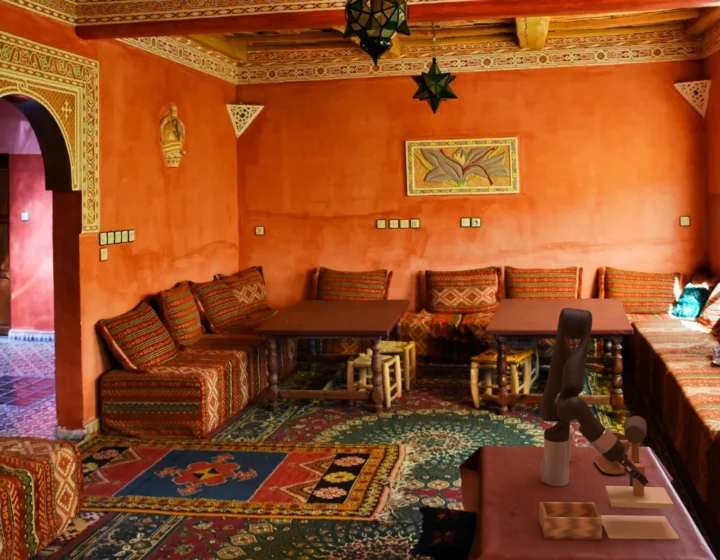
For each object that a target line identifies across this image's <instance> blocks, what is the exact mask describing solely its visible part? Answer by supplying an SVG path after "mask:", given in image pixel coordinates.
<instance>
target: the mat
mask: <svg viewBox="0 0 720 560" xmlns="http://www.w3.org/2000/svg"><path fill="white" fill-rule="evenodd" d="M600 516H601V518H602V528H603V529H604V531H605V533H606V536H607V538H608V539H618V540H619V539H623V540H624V539H625V540H627V539H628V540H680V537H679V535H678V534H677V533H676V531H675V529H674V528H673V527H672V525H671V524H670V522H669V520H668V519H667V517H666V516H665V515H616V514H615V515H614V514H613V515H610V514H608V515H605V514H604V515H603V514H600Z"/></svg>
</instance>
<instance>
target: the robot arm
mask: <svg viewBox="0 0 720 560" xmlns="http://www.w3.org/2000/svg"><path fill="white" fill-rule="evenodd" d="M592 328H593V314H592V312H591V311H590V310H587V309H579V308H572V307H564V308H562V309H561V310H560V313H559V316H558V321H557V329H556V336H555V342H554V347H553V352H552V356H551V359H550V365H549V369H548V376H547V381H546V384H545V387H544V391H543V394H542V396H541V400H540V404H539V416H540V418H541V420H542V421H544V422H546V423H550V422H554V423H556V424H555V425H554V426H552V425H551V426H550V427H548V428H546V429H545V430H544V432H543V456H541V483H544V484H546V485H548V486H552V487H565V486H568V485H569V483H570V482H569V481H570V480H569V479H570V477H569V476H570V474H569V473H570V471H569V469H570V465H569V464H570V463H569V434H570V425H571V422H572V421H575V420H577V422H578V423H579V426H578V431H579V433H580V434H581V435H582V436H583V437H584V438H585V439H586V440H587V442H589V443H590V444H591V446H592V447H593V448H594V449H595V450H596V451H597V452H598V453H599V454H600V455H602V456H603V457H604V458H605V459H606V460H607V461H608V462H614V461H617V462H618V463H619V466H620V467H621V468H623V469H624V470H625V473H627V474H628V475H629V474H630V475H631V476H632V477H633V478H634V479H637V480H638V481H639V482H640V483H641V484H642V485H643V486H644V487H646V485H647V484H648V483H650V482H649V479H647V476H646V475H645V474H644V476H643V475H642V474H641V472H640V471H638V470H637V469H636V465H635V463H634V462H633V461H632V460H631V458H630V456H629V455H628V453H627V454H625V450H626V447H625V445H624V444H623V443H622V442H621V441H620V440H619V439H618V438H617V437H616V436H615V435H614V434H613V433H612V432H613V431H610V430H609V429H608V428H607V427H605V425H603V424H602V422H600V421H599V420H598V419H597V418H596V416H595V414H594V413H593V411H592V409H591V407H590V405H588V403H587V402H586V400H583V399H582V398H580V397H579V396H580V395H581V393H582V392H583V391H584V388H585V373H586V372H585V371H586V362H587V358H588V357H587V356H588V351H589V347H590V340H591V334H592V330H593V329H592ZM567 335H568V336H569V335H570V336H575V337H580V339H579V343H578V345H577V347H576V349H575V350H573V349H572V346H571V345H570V344H569V341H568V338H567ZM635 472H636V473H635ZM634 473H635V474H634Z"/></svg>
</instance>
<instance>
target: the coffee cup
mask: <svg viewBox="0 0 720 560" xmlns="http://www.w3.org/2000/svg"><path fill="white" fill-rule="evenodd" d="M556 423H557V422H554V423H552V425H551V427H552V426H554V425H555V424H556ZM574 433H575V429H574V427H573V425H572V424H570V434H569V462H570V463H571V457H572V456H571V455H572V445H573V437H574V436H573V435H574Z"/></svg>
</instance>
